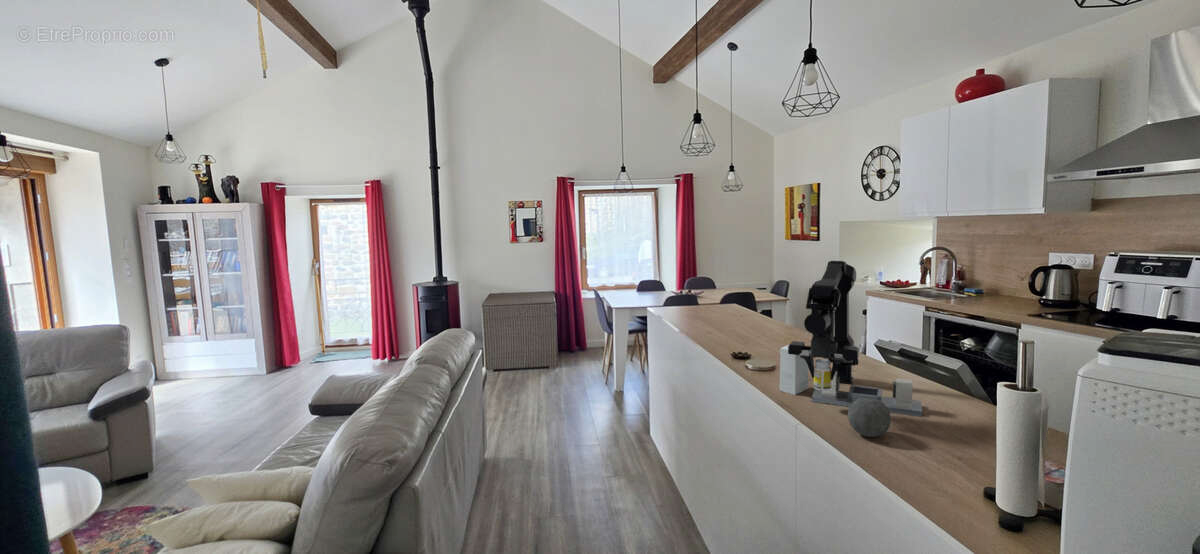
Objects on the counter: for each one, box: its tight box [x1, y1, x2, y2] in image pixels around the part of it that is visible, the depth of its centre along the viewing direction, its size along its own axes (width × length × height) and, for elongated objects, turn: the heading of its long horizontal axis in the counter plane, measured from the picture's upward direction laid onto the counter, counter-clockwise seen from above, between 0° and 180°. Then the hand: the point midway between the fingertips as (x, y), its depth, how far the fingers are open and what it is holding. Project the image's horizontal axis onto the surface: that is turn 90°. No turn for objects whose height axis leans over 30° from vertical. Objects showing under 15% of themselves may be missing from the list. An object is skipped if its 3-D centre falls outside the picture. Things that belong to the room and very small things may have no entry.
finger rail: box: [811, 370, 923, 417], centre depth 158 cm, size 9×29×8 cm, turn 60°
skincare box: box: [779, 344, 810, 396], centre depth 171 cm, size 8×6×15 cm
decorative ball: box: [847, 397, 892, 438], centre depth 136 cm, size 10×10×10 cm
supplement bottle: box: [813, 358, 832, 391], centre depth 155 cm, size 5×5×8 cm
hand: (822, 378), depth 155 cm, fingers closed on supplement bottle, 5 cm apart
